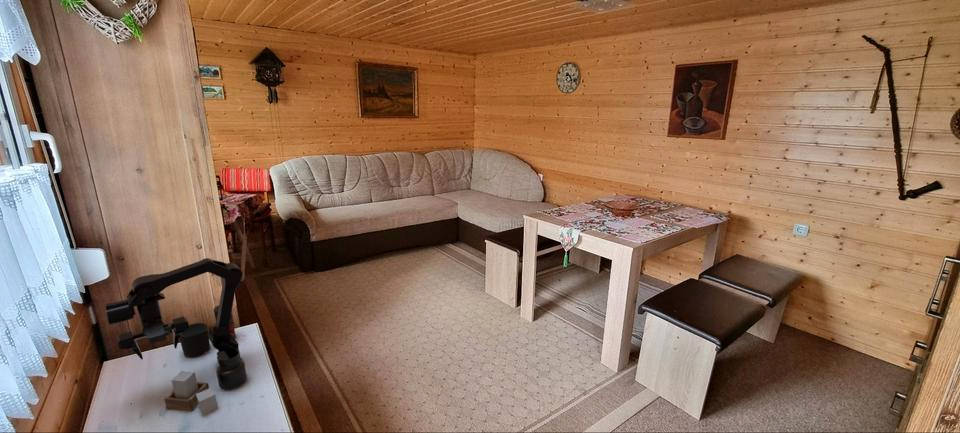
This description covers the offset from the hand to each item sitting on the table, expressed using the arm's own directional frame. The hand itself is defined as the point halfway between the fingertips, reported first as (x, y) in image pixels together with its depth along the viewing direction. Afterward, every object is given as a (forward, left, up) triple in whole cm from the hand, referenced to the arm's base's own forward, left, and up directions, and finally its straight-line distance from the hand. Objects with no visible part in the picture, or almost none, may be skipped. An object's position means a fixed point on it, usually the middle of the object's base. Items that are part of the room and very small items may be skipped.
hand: (159, 353), depth 140 cm
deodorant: (-23, -16, -13) cm, 31 cm away
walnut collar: (-4, +14, -13) cm, 20 cm away
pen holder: (-12, -15, -13) cm, 23 cm away
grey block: (-8, +22, -13) cm, 27 cm away
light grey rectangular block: (-4, +14, -13) cm, 20 cm away
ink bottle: (-17, +14, -13) cm, 26 cm away
